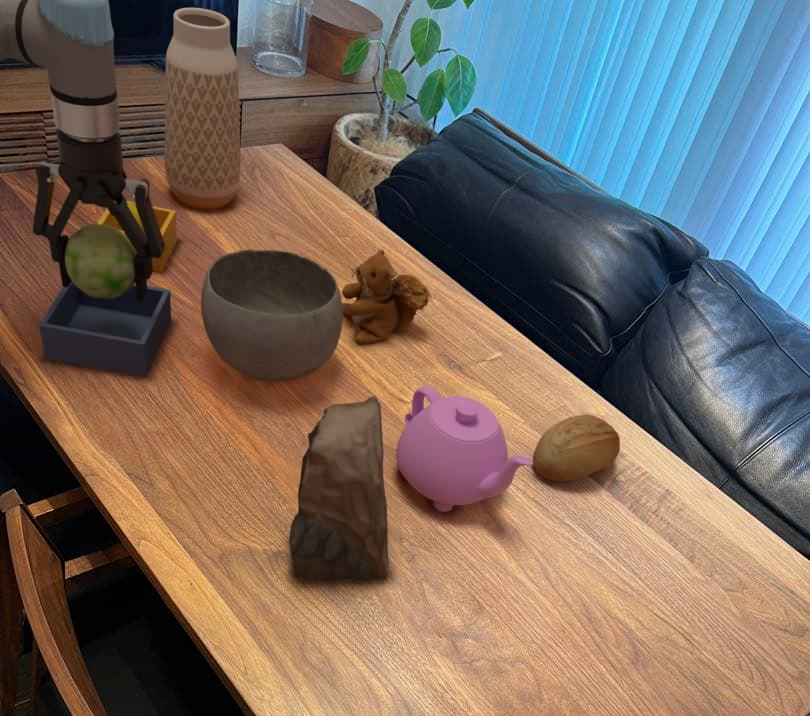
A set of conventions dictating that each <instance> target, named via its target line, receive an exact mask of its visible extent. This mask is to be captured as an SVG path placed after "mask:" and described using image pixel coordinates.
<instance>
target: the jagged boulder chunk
mask: <svg viewBox="0 0 810 716" xmlns="http://www.w3.org/2000/svg"><path fill="white" fill-rule="evenodd" d="M381 410H382V406H381V403H380V402H379V401H378V398H377V396H375V395H373V396H370V397H368V398H367V399H366V400H364V401H356V402H350V403H349V402H348V403H345V402H344V403H335V404H331V405H329V406H327V407H326V408H325V409H323V415H322V417H321V419H320V420H318V421H317V422H316V425H315V426H314V427H313V429H312V431H311V432H308V433H307V439H308V448H307V450H306V452H305V453H304V455H303V457H302V461H301V469H300V477H299V479H300V480H299V483H298V484H299V485H298V490H297V491H298V492H297V502H298V503H297V504H298V509H297V513H295V515H294V517H293V520H291V521H292V522H291V525H290V530H289V540H288V544H289V553H290V557H291V559H292V562H293V564H294V566H295V573H294V574H295V576H296V577H297V578H299V579H305V580H317V579H324V578H325V579H327V580H329V581H331V580H335V579H353V580H357V581H362V580H363V581H365V580H369V579H379V578H381V579H382V578H386V577H387V572H386V570H387V568H388V566H389V550H388V549H389V548H388V546H389V545H388V544H389V542H388V540H389V539H388V538H389V537H388V536H389V535H388V533H389V532H388V504H387V503H388V502H387V497H386V491H385V481H384V454H385V452H384V438H383V437H384V435H383V425H382V423H383V421H382V419H383V418H382V411H381Z"/></svg>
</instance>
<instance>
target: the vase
mask: <svg viewBox="0 0 810 716" xmlns="http://www.w3.org/2000/svg"><path fill="white" fill-rule="evenodd" d="M239 86H240V85H239V67H238V60H237V57H236V55H235V52H234V49H233V47H232V44H231V21H230V19H229V18H228V17H227V16H225V15H223V14H222V13H220V12H218V11H214V10H211V9H207V8H201V7H182V8H179V9H176V10H175V11H174V13H173V34H172V37H171V40H170V42H169V44H168V47H167V50H166V54H165V79H164V169H165V177H166V180H167V184H168V186H169V188H170V190H171V191H172V193H173V195H174V196H175V197H176V198H177V199H178V201H180V202H181V203H183V204H185V205H187V206H189V207H192V208H196V209H200V210H215V209H220V208H222V207H225V206H226V205H228V204H229V203H230V202H231V201H232V200H233V198H234V197H235V195H236V193H237V192H238V188H239V184H240V179H241V132H240V131H241V128H240V127H241V126H240V125H241V124H240V123H241V122H240V89H239V88H240V87H239Z"/></svg>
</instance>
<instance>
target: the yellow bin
mask: <svg viewBox="0 0 810 716" xmlns="http://www.w3.org/2000/svg"><path fill="white" fill-rule="evenodd" d="M126 201H127V205H128V204H130V203H134V202H135V201H129V200H126ZM152 206H153V209H154V213H155V216H156V219H157V222H158V225H159V228H160V231H161V234H162V237H163V240H164V243H165V249H164V251H163V253H162V255H161V257H160V258H155V257H153V258H152V264H153V272H159V273H162V272H163V270H164V268H165V267H166V264H167V263H168V260H169V258H170V256H171V254H172V253H173V250H174V248H175V246H176V245H177V242H178V237H177V236H178V233H177V211H176V210H174V209H170V208H166V207H165V208H164V207H160V206H154V205H152ZM96 224H101V225H103V224H104V225H108V226H112V227H113V228H116V229H118V230H120V231H121V229H120V225H119V223H118V221H117V220H116V218H115V217H114V216H112V215H111V214H110V212H109V210H108V209H107V208H105V211H104V212H103V214H102V215H101V216H100V218H99V220H98V221H97V222H96ZM121 232H123V233H124V231H121ZM124 234H125V233H124ZM125 235H126V234H125ZM145 236H146V235H145ZM136 253H137V252H136Z"/></svg>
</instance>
